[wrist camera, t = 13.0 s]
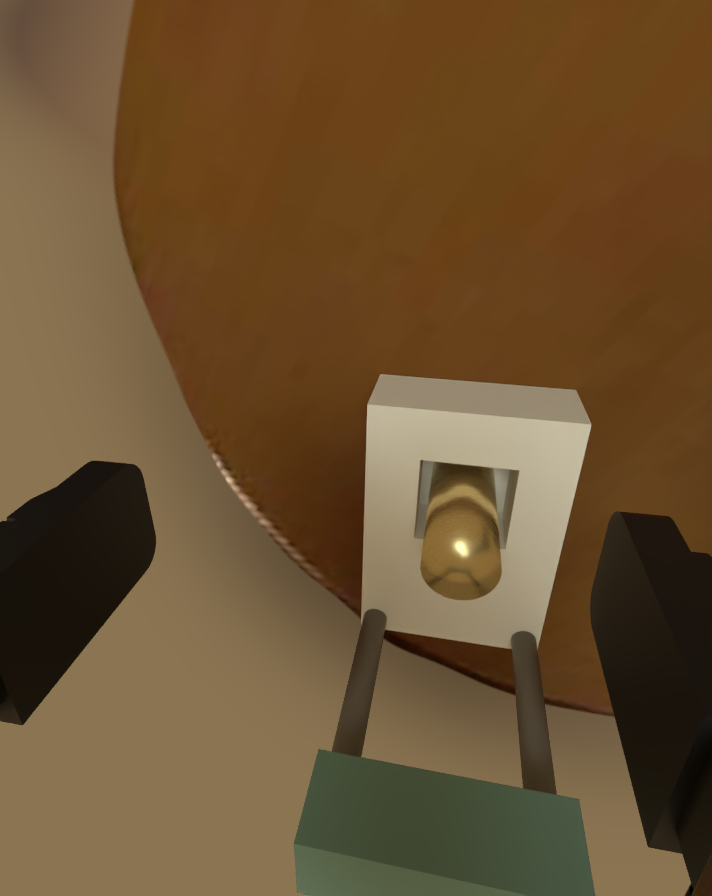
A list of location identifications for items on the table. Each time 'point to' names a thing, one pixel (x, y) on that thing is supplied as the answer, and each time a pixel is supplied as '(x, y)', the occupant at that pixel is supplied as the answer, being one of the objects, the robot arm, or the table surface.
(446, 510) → the brass peg
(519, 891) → the socket stand
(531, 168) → the table surface
